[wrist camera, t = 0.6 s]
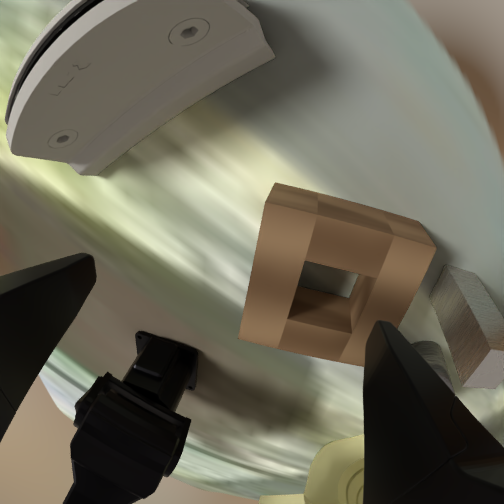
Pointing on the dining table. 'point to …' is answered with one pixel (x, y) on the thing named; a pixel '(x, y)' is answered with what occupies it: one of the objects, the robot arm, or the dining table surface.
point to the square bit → (470, 327)
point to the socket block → (333, 255)
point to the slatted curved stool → (331, 476)
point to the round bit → (434, 359)
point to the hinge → (124, 74)
